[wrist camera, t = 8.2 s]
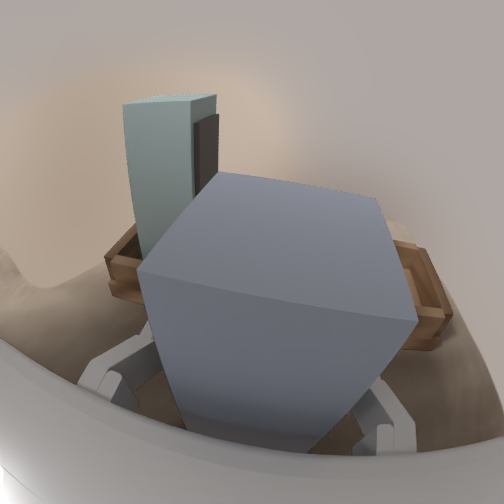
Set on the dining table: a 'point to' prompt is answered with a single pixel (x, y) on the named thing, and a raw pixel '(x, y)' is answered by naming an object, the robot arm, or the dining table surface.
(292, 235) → the block
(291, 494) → the robot arm
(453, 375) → the dining table surface
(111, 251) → the wooden double tray
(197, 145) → the teal rectangular block
